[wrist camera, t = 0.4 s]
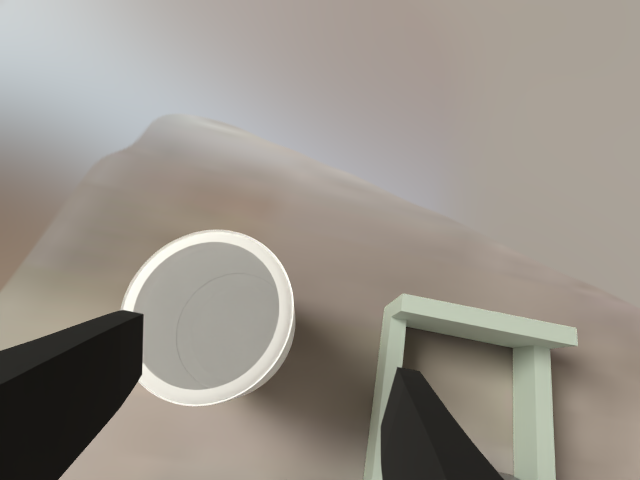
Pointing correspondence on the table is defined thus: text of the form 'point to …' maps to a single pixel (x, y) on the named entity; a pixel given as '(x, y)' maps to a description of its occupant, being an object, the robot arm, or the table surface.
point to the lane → (490, 327)
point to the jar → (211, 317)
